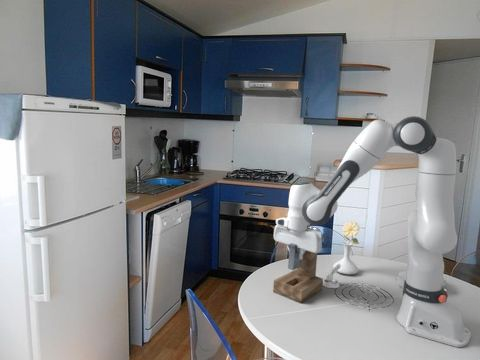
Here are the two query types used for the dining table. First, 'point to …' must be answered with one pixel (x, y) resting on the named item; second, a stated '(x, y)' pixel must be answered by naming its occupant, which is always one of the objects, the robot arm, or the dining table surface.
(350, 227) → the flower in vase
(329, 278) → the white ring with bar
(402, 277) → the food container
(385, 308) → the dining table surface
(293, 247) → the grey rectangular block
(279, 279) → the wooden l-shaped post
